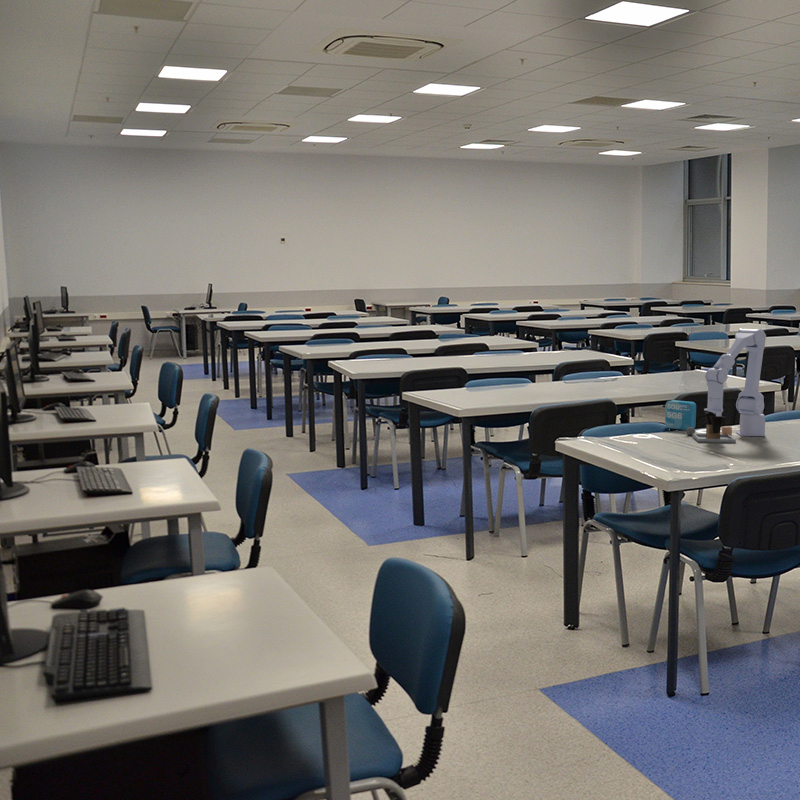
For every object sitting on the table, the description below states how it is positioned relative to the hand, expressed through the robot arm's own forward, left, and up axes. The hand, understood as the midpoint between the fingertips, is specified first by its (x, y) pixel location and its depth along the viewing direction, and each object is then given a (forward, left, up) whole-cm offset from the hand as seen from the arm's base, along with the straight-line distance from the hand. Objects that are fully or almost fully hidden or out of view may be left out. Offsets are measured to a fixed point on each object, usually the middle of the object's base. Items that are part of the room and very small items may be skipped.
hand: (714, 431), depth 334 cm
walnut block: (0, 0, -3) cm, 3 cm away
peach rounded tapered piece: (-7, -9, -4) cm, 12 cm away
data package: (+8, -28, -4) cm, 29 cm away
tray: (0, 0, -3) cm, 3 cm away
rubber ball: (+7, -11, -3) cm, 14 cm away
